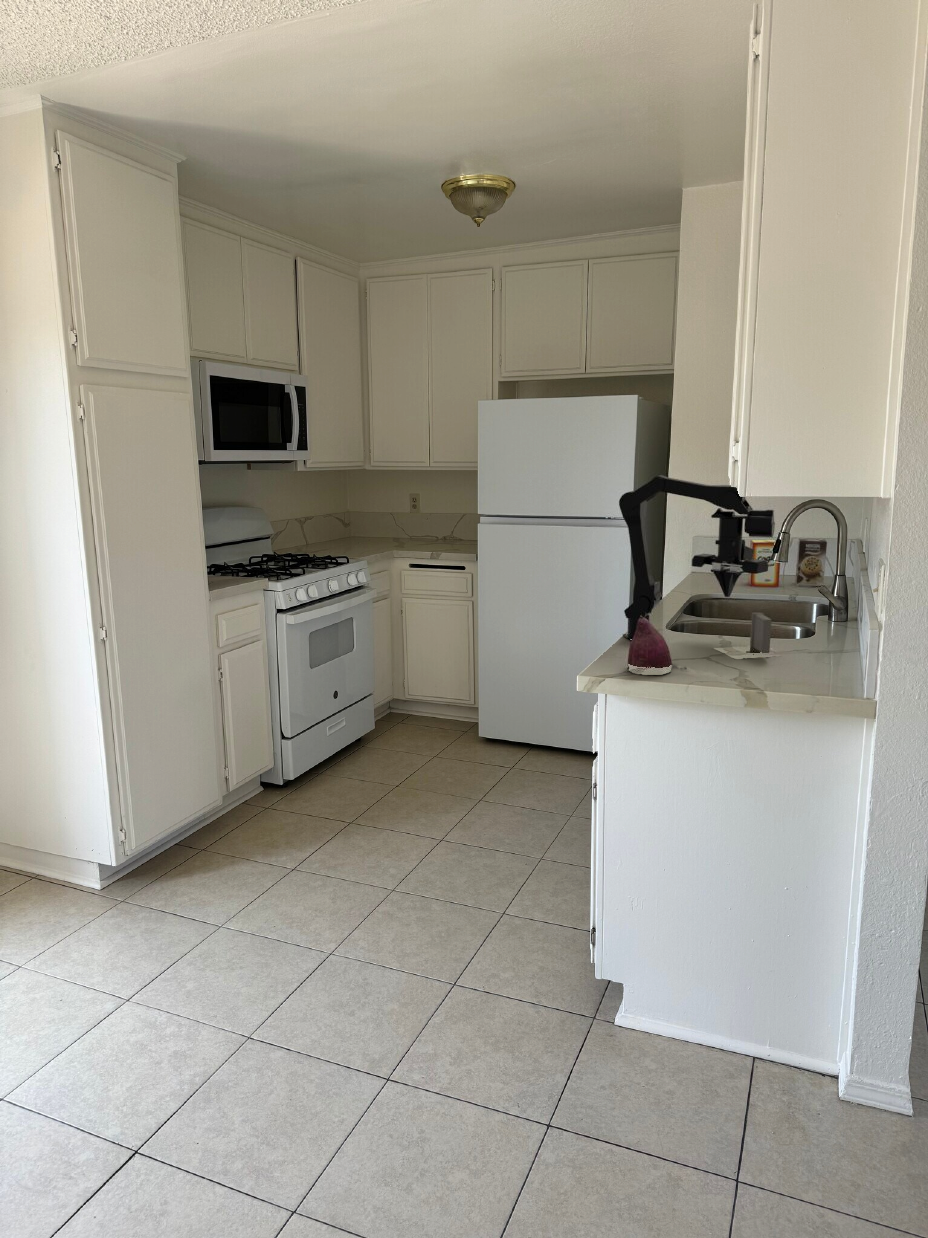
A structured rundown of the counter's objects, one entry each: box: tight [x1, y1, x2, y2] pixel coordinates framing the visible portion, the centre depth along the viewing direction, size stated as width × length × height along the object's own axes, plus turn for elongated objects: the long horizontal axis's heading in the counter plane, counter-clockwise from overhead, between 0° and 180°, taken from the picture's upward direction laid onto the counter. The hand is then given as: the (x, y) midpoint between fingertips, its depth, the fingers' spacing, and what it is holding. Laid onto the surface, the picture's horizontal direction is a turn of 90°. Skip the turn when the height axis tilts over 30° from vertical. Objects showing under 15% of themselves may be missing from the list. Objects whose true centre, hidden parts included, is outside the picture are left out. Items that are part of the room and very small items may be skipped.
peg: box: [749, 612, 774, 653], centre depth 208 cm, size 6×8×10 cm
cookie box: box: [794, 538, 828, 587], centre depth 304 cm, size 9×6×16 cm
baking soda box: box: [747, 539, 781, 588], centre depth 306 cm, size 10×6×16 cm
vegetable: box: [627, 616, 673, 668], centre depth 201 cm, size 10×10×15 cm
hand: (727, 596), depth 221 cm, fingers closed
